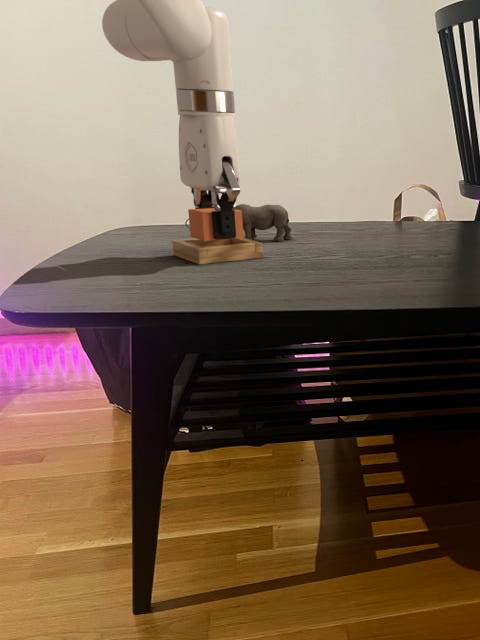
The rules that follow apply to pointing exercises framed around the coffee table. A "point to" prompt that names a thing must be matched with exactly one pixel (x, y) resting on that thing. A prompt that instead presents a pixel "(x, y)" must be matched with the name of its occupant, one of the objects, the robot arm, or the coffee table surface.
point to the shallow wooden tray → (217, 250)
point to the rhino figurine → (265, 220)
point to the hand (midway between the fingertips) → (216, 234)
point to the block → (209, 224)
